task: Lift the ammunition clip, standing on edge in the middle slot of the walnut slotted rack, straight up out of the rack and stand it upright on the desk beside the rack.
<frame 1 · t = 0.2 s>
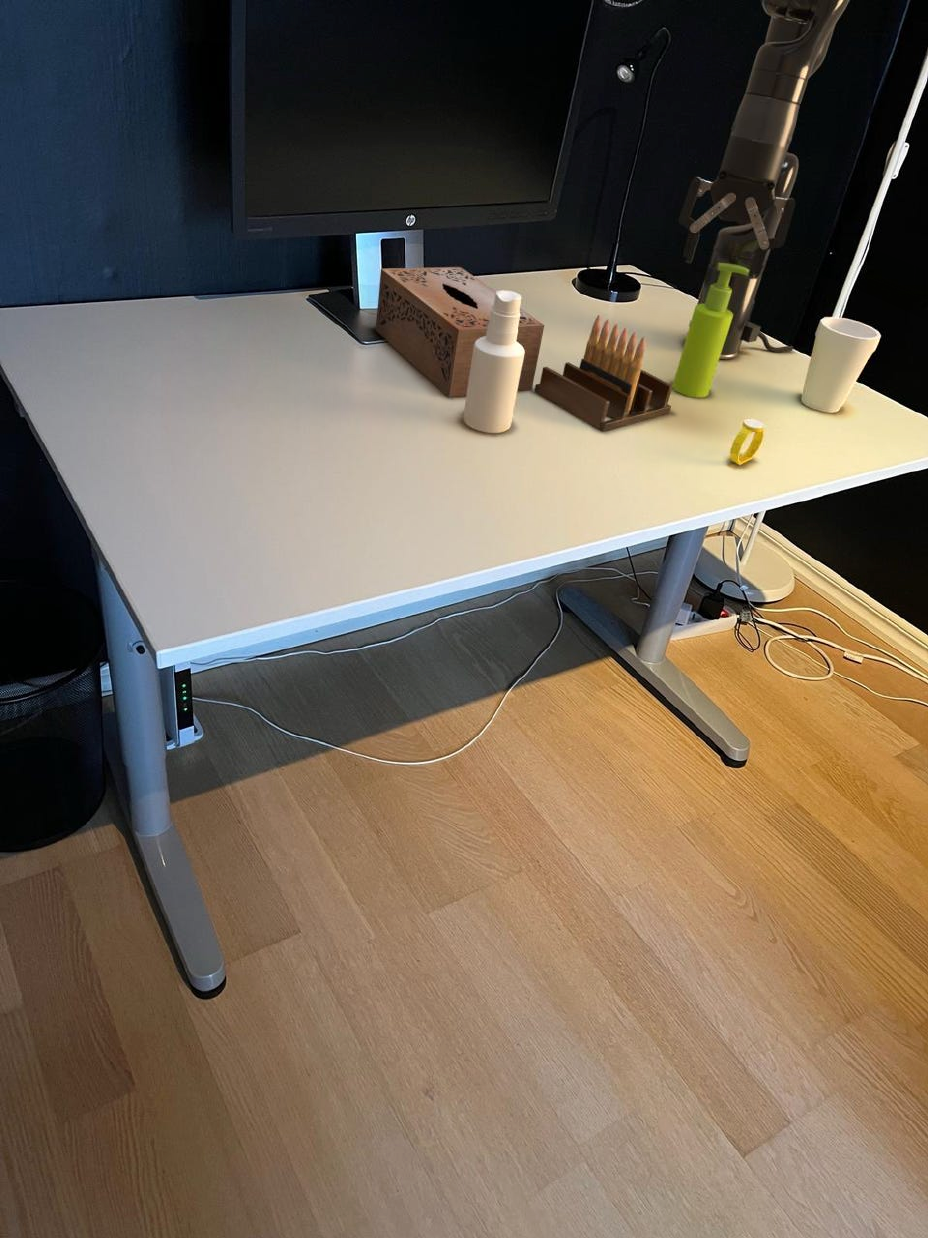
hand: (719, 269, 127), 22 cm above the table, tool pointing down, fingers open, 8 cm apart
spray bottle: (486, 424, 131), on the table
watch: (740, 462, 133), on the table
tissue box cover: (450, 360, 148), on the table
ammunition clip: (601, 403, 142), resting in slotted rack
foam cup: (819, 405, 155), on the table
soap dispenser: (692, 391, 152), on the table
slotted rack: (601, 402, 142), on the table
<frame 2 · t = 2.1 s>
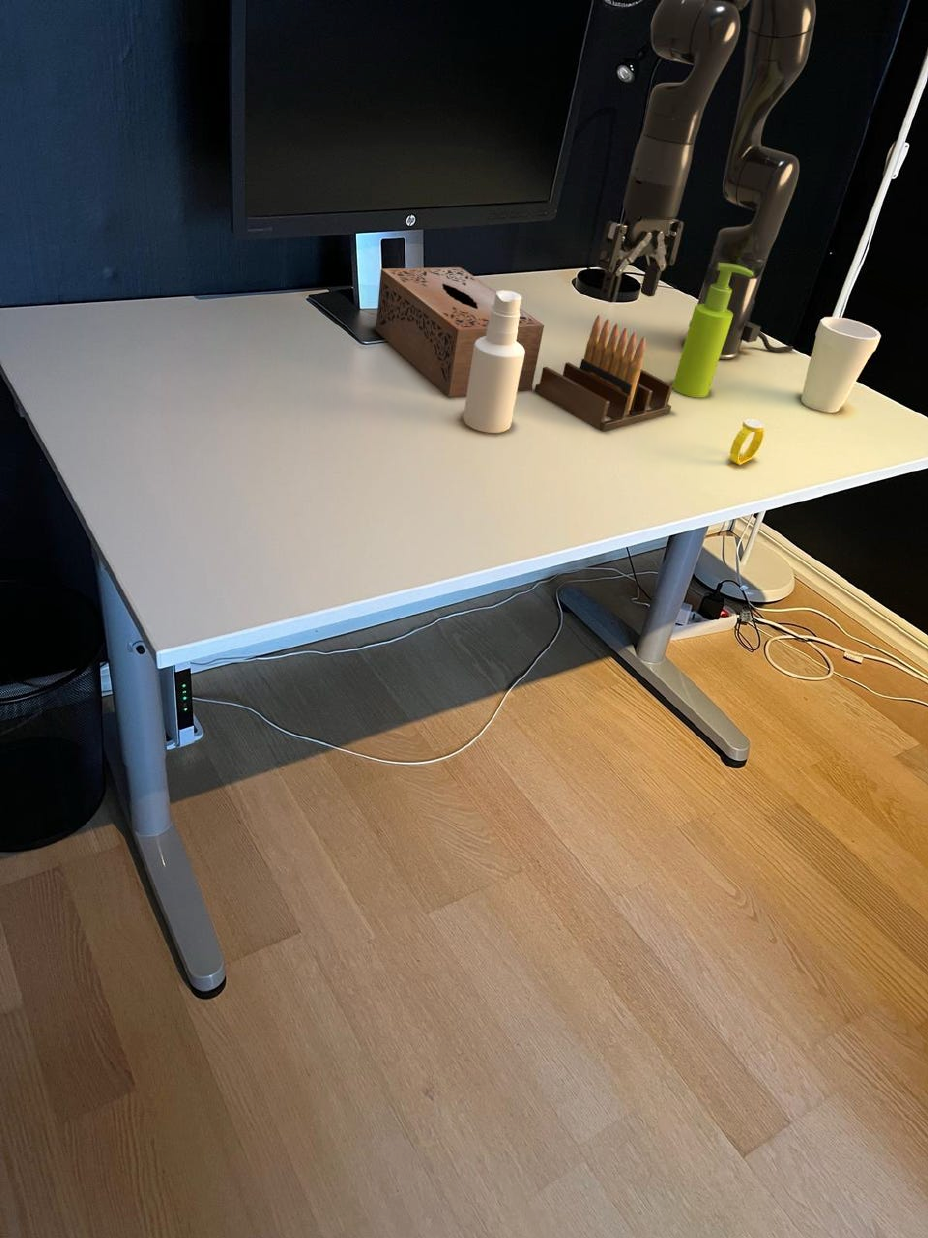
hand: (627, 297, 133), 16 cm above the table, tool pointing down, fingers open, 8 cm apart
nothing on the table moved.
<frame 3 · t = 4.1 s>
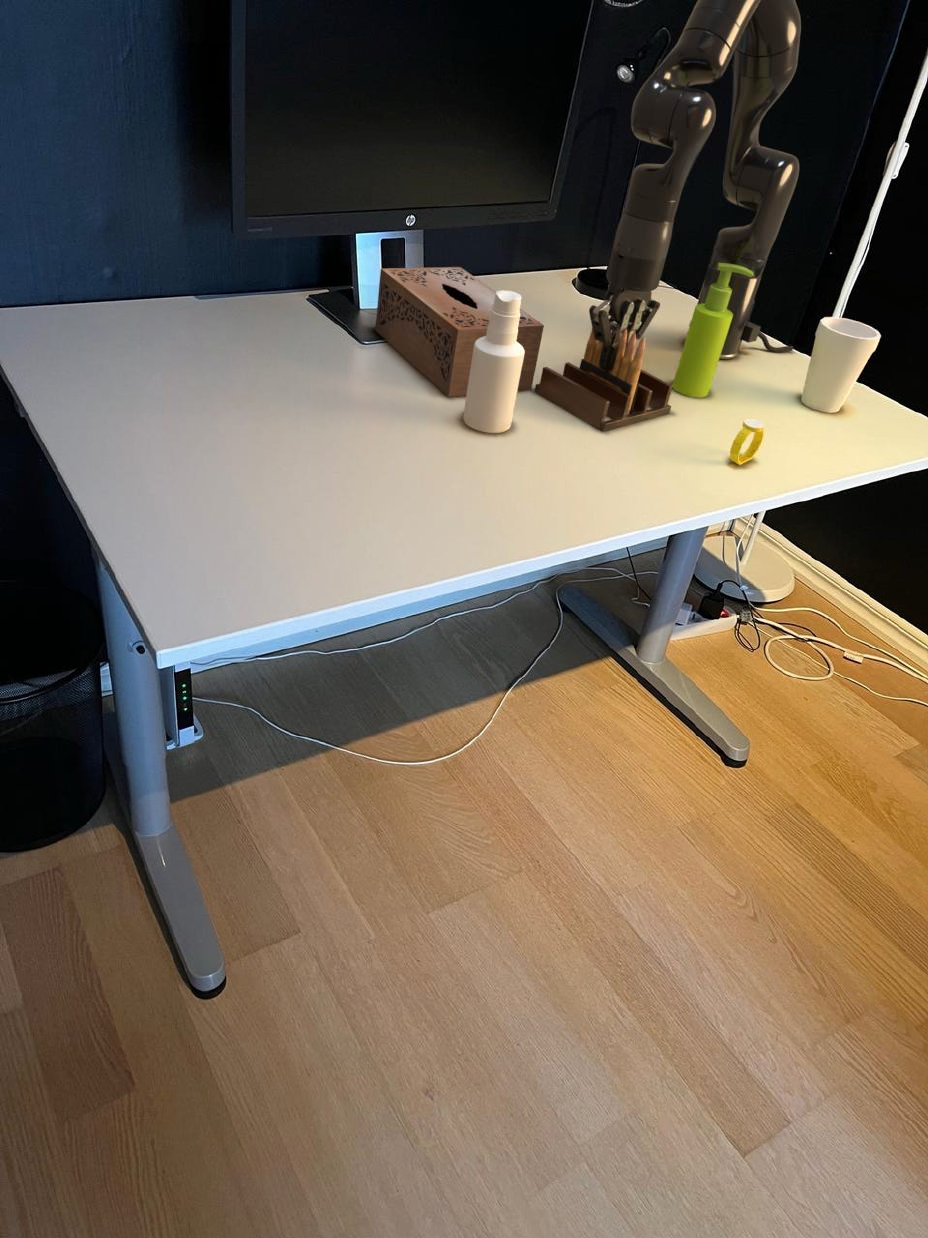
hand: (610, 367, 139), 6 cm above the table, tool pointing down, fingers closed on ammunition clip
ammunition clip: (601, 403, 142), resting in slotted rack, touching gripper
everything else where it was.
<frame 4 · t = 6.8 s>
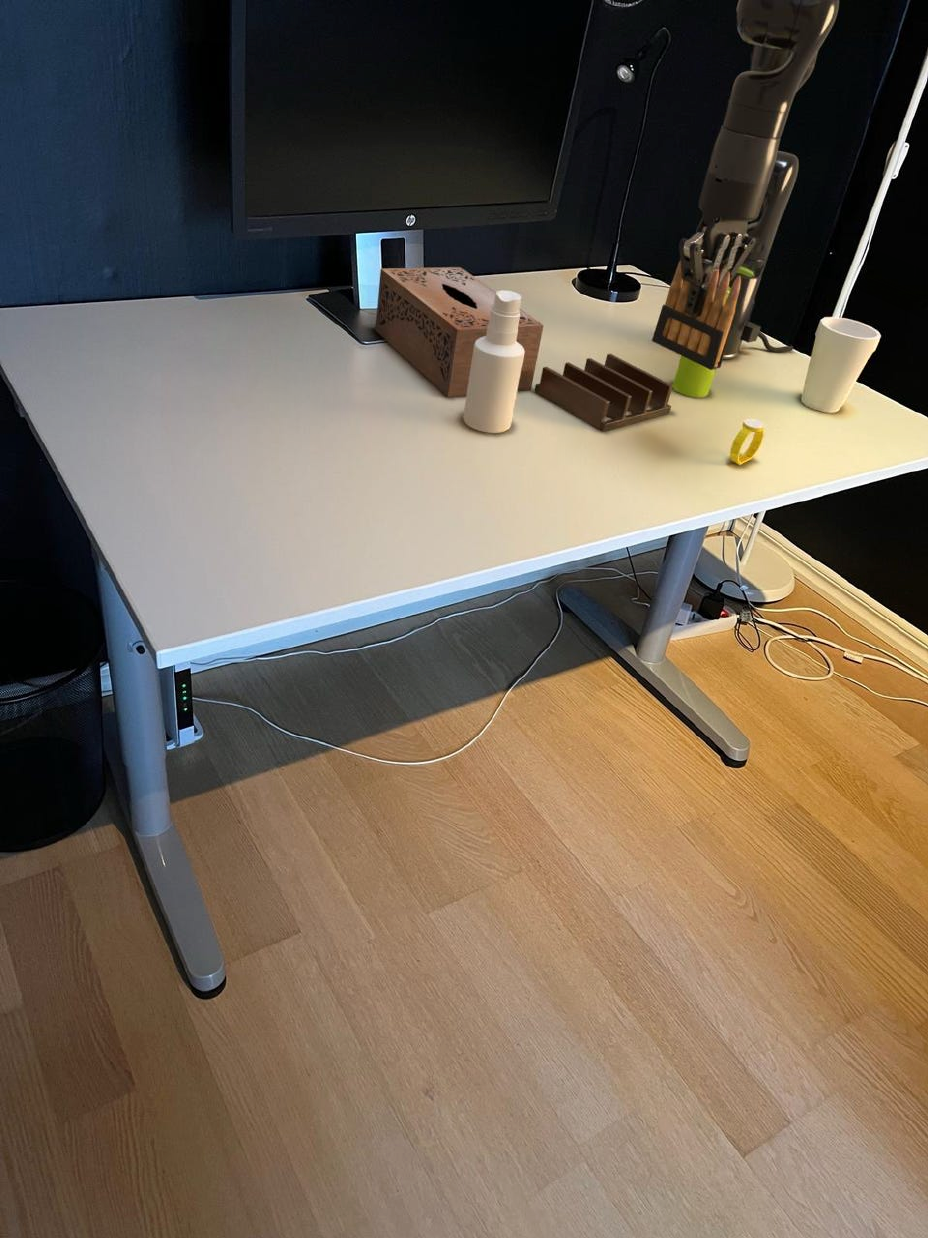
hand: (697, 313, 123), 19 cm above the table, tool pointing down, fingers closed on ammunition clip
ammunition clip: (684, 355, 126), point 13 cm above the table, touching gripper
everything else where it was.
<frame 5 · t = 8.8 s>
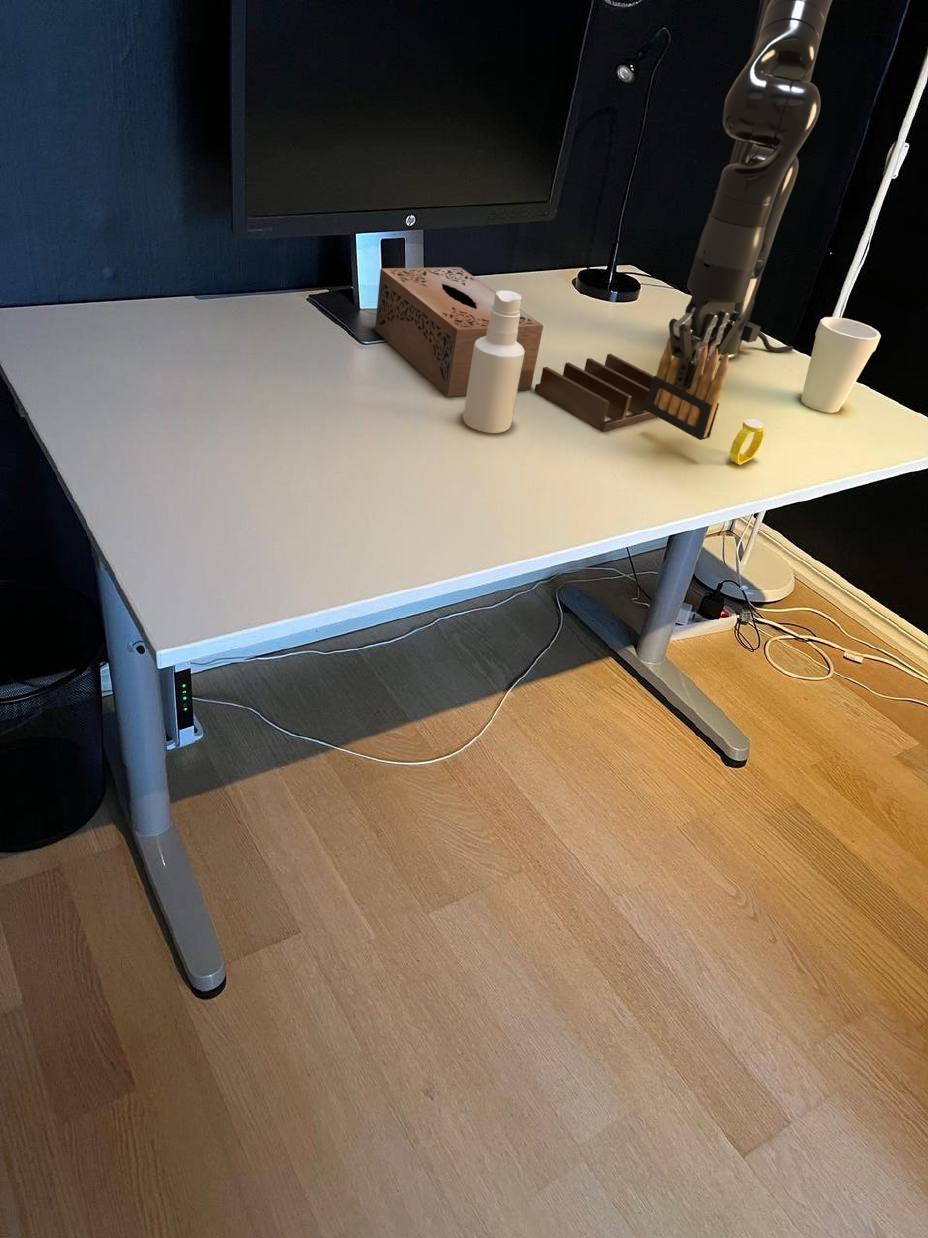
hand: (686, 385, 127), 9 cm above the table, tool pointing down, fingers closed on ammunition clip
ammunition clip: (675, 424, 131), point 3 cm above the table, touching gripper
everything else where it was.
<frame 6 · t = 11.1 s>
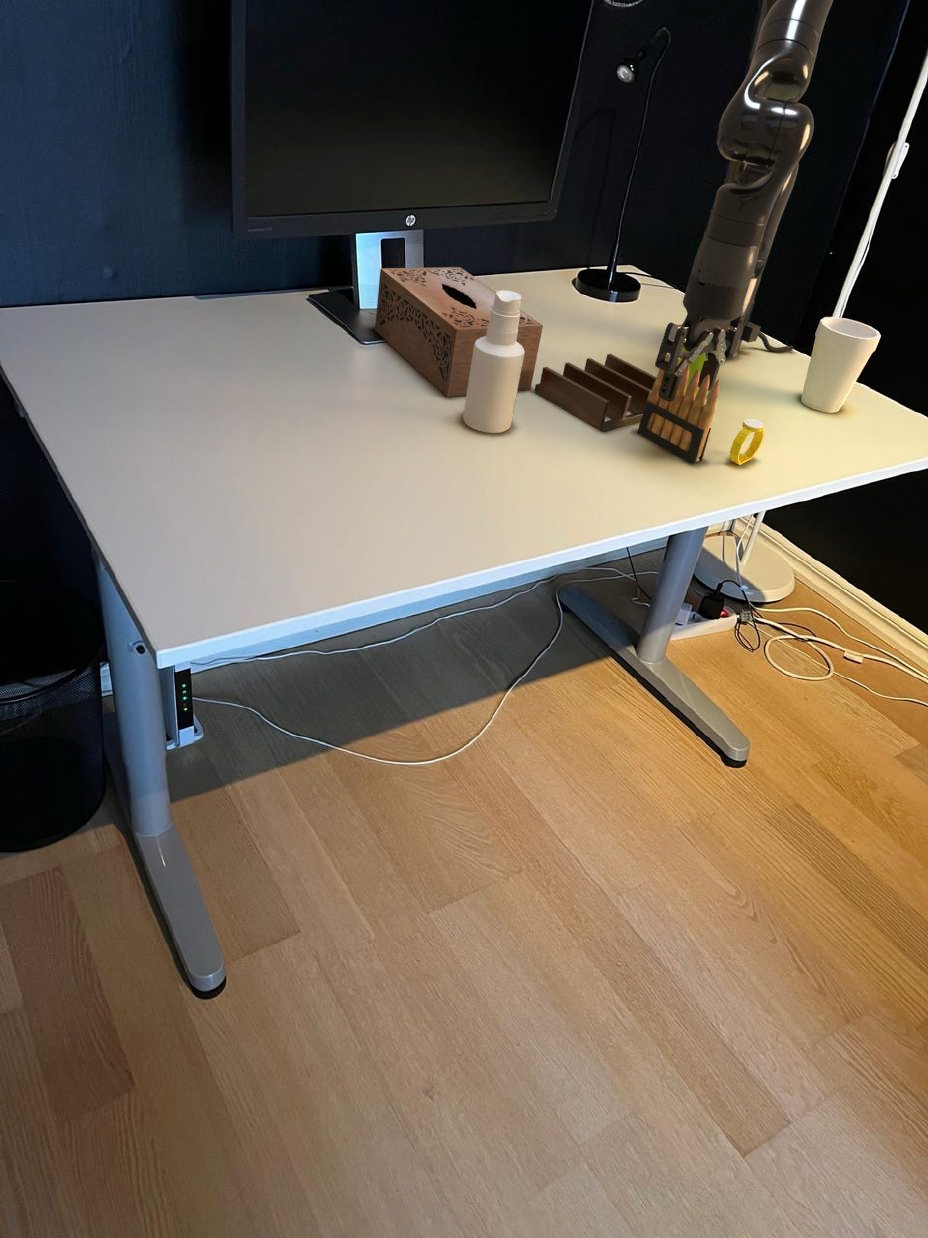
hand: (685, 393, 128), 8 cm above the table, tool pointing down, fingers open, 8 cm apart
ammunition clip: (668, 448, 133), on the table
everything else where it was.
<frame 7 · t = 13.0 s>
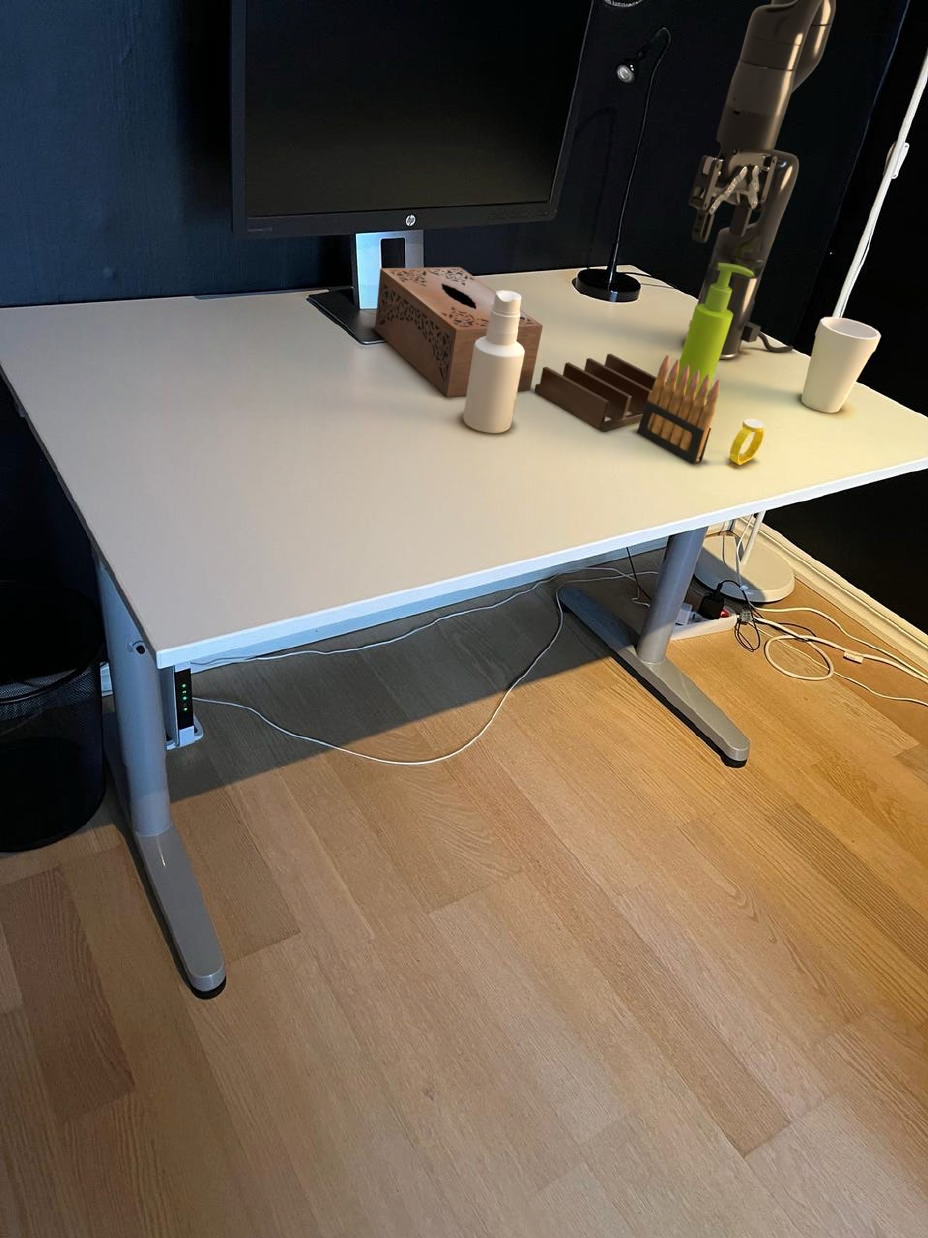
hand: (717, 237, 127), 26 cm above the table, tool pointing down, fingers open, 8 cm apart
nothing on the table moved.
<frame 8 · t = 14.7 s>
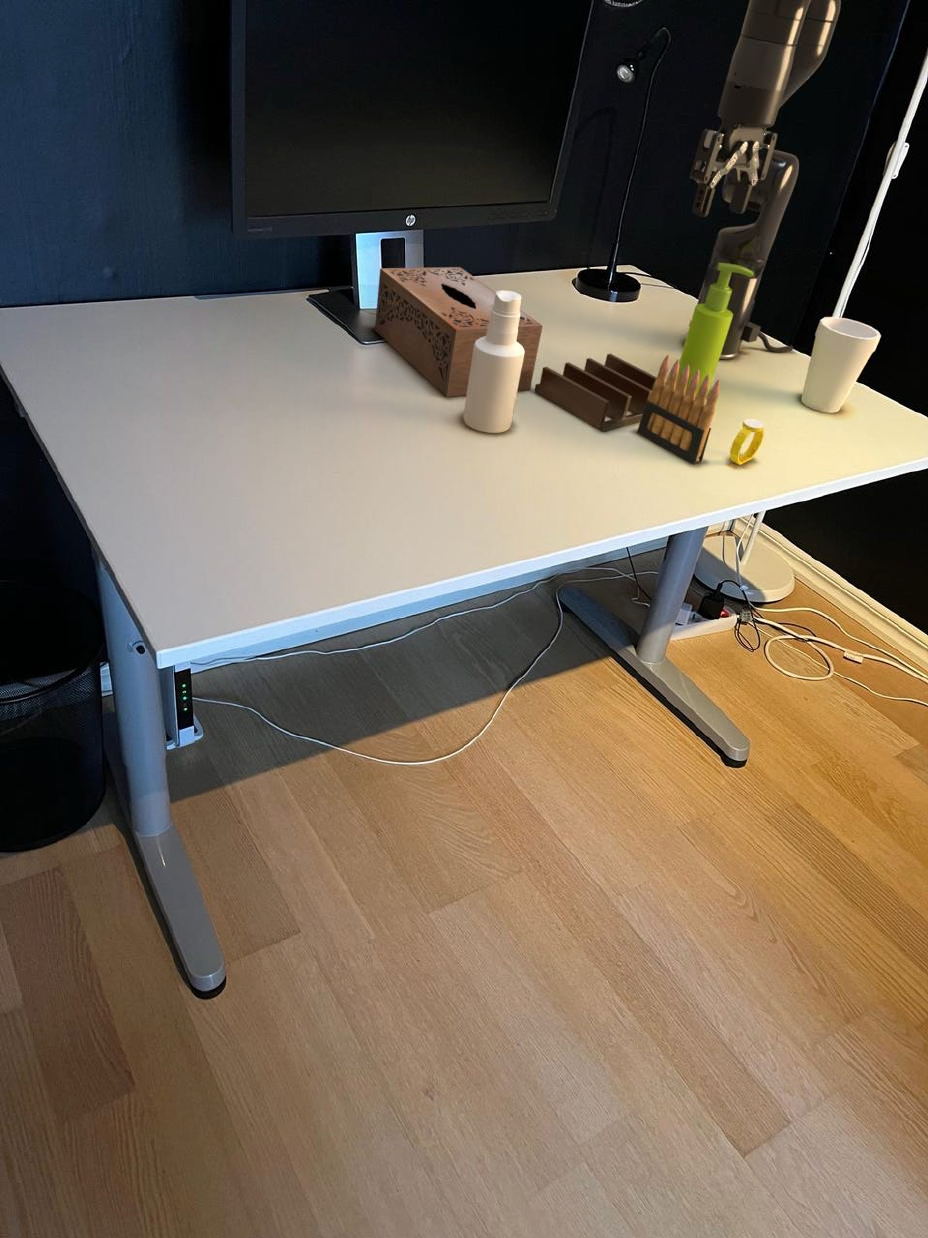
hand: (717, 213, 129), 28 cm above the table, tool pointing down, fingers open, 8 cm apart
nothing on the table moved.
at the end: ammunition clip inside the target area (0.1 cm from its centre), on the table; ammunition clip tilted 0°; the gripper is holding nothing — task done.
